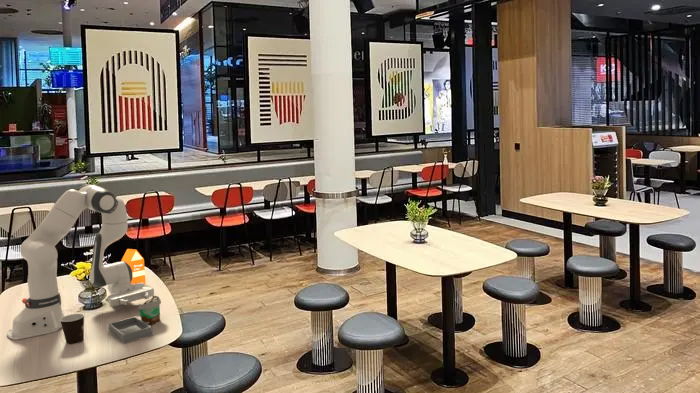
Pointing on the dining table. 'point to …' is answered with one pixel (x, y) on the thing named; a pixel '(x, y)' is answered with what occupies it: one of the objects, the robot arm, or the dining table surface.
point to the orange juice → (135, 265)
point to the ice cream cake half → (150, 310)
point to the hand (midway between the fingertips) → (137, 300)
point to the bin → (130, 329)
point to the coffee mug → (73, 328)
